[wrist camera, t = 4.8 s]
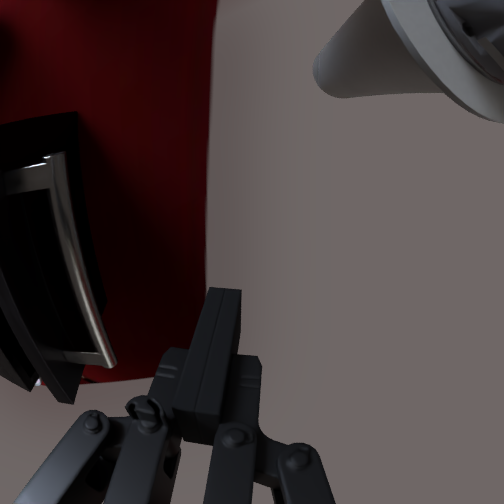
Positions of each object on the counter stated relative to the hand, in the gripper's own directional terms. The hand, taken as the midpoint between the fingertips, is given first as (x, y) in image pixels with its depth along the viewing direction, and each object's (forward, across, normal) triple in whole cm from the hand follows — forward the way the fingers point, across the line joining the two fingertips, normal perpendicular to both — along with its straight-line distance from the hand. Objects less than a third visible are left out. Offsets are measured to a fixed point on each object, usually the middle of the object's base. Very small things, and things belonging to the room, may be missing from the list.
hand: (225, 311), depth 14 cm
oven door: (+11, -14, 0) cm, 18 cm away
